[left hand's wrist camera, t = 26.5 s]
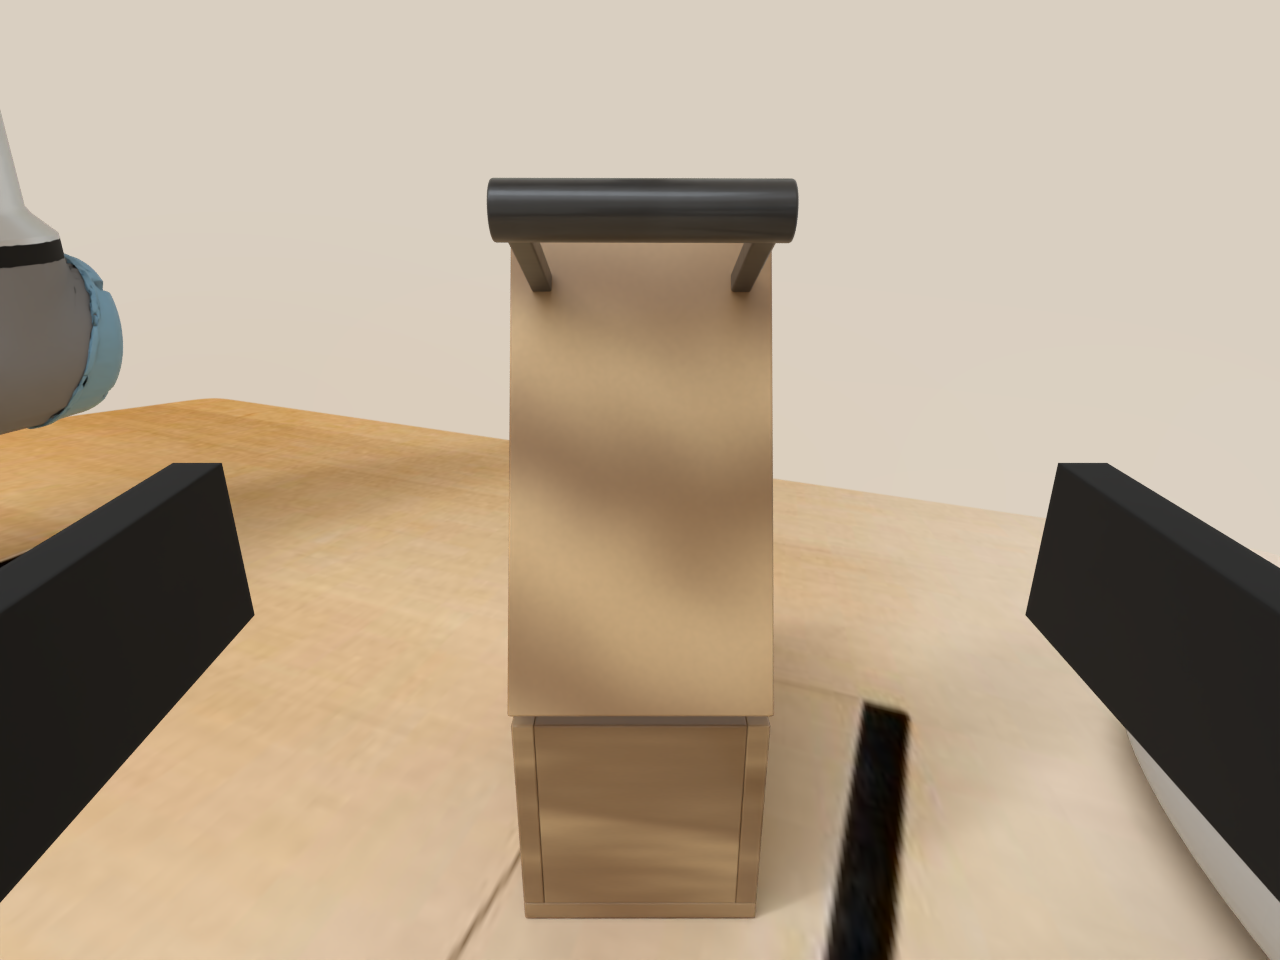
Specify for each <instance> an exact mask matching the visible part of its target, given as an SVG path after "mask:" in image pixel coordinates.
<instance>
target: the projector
mask: <svg viewBox="0 0 1280 960" xmlns="http://www.w3.org/2000/svg"><path fill="white" fill-rule="evenodd" d="M1126 731H1127V735H1128V738H1129V740H1130V743H1131V745H1132V748H1133V751H1134V753H1135V756H1136V758H1137V760H1138V762H1139V764H1140V766H1141V768H1142V770H1143V772H1144V775H1145V777H1146V779H1147V780H1148V782H1149V784H1150V786H1151V788H1152V790H1153V792H1154V793H1155V795H1156V797H1157V799H1158V801H1159V803H1160V804H1161V806H1162V808H1163V810H1164V811H1165V813H1166V815H1167V816H1168V818H1169V820H1170V821H1171V823H1172V825H1173V826H1174V828H1175V829H1176V831H1177V832H1178V834H1179V835H1180V837H1181V839H1182V840H1183V842H1184V843H1185V845H1186V846H1187V848H1188V849H1189V851H1190V853H1191V854H1192V856H1193V857H1194V859H1195V860H1196V861H1197V863H1198V864H1199V866H1200V867H1201V869H1202V870H1203V871H1204V873H1205V874H1206V876H1207V877H1208V879H1209V880H1210V881H1211V883H1212V884H1213V886H1214V887H1215V888H1216V890H1217V891H1218V893H1219V894H1220V895H1221V897H1222V898H1223V899H1224V901H1225V902H1226V903H1227V905H1228V906H1229V907H1230V909H1231V910H1232V911H1233V913H1234V914H1235V915H1236V917H1237V918H1238V919H1239V921H1240V922H1241V923H1242V925H1243V926H1244V927H1245V929H1246V930H1247V931H1248V933H1249V934H1250V935H1251V936H1252V938H1253V939H1254V940H1255V941H1256V943H1257V944H1258V945H1259V946H1260V948H1261V949H1262V950H1263V951H1264V953H1265V954H1266V955H1267V956H1268V958H1269V959H1270V960H1280V902H1279V901H1278V900H1277V899H1276V898H1275V897H1274V896H1273V894H1272V893H1271V892H1270V891H1269V890H1268V889H1267V888H1266V886H1265V885H1264V884H1263V883H1262V882H1261V881H1260V880H1259V879H1258V877H1257V876H1256V875H1255V874H1254V873H1253V872H1252V871H1251V870H1250V868H1249V867H1248V866H1247V865H1246V864H1245V863H1244V862H1243V860H1242V859H1241V858H1240V857H1239V856H1238V855H1237V854H1236V853H1235V851H1234V850H1233V849H1232V848H1231V847H1230V846H1229V845H1228V843H1227V842H1226V841H1225V840H1224V839H1223V838H1222V837H1221V836H1220V834H1219V833H1218V832H1217V831H1216V830H1215V829H1214V828H1213V827H1212V825H1211V824H1210V823H1209V822H1208V821H1207V820H1206V819H1205V817H1204V816H1203V815H1202V814H1201V813H1200V812H1199V811H1198V810H1197V808H1196V807H1195V806H1194V805H1193V804H1192V803H1191V802H1190V801H1189V799H1188V798H1187V797H1186V796H1185V795H1184V794H1183V793H1182V791H1181V790H1180V789H1179V788H1178V787H1177V786H1176V785H1175V784H1174V782H1173V781H1172V780H1171V779H1170V778H1169V777H1168V776H1167V774H1166V773H1165V772H1164V771H1163V770H1162V769H1161V768H1160V767H1159V765H1158V764H1157V763H1156V762H1155V761H1154V760H1153V759H1152V758H1151V756H1150V755H1149V754H1148V753H1147V752H1146V751H1145V750H1144V748H1143V747H1142V746H1141V745H1140V744H1139V743H1138V742H1137V741H1136V739H1135V738H1134V737H1133V736H1132V735H1131V734H1130V733H1129V732H1128V730H1127V729H1126Z"/></svg>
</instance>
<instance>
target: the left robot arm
mask: <svg viewBox="0 0 1280 960" xmlns="http://www.w3.org/2000/svg"><path fill="white" fill-rule="evenodd" d="M253 616H254V610H253V606H252V601H251V596H250V592H249V587H248V582H247V578H246V573H245V569H244V564H243V559H242V555H241V550H240V545H239V541H238V536H237V531H236V527H235V522H234V518H233V513H232V508H231V504H230V499H229V494H228V490H227V485H226V480H225V476H224V471H223V467H222V463H172V464H171V465H169V466H167V467H166V468H164V469H162V470H161V471H159V472H157V473H156V474H154V475H152V476H151V477H149V478H148V479H146V480H144V481H143V482H141V483H139V484H138V485H136V486H134V487H133V488H131V489H129V490H128V491H126V492H125V493H123V494H121V495H120V496H118V497H116V498H115V499H113V500H111V501H110V502H108V503H106V504H105V505H103V506H102V507H100V508H98V509H97V510H95V511H93V512H92V513H90V514H88V515H87V516H85V517H83V518H82V519H80V520H79V521H77V522H75V523H74V524H72V525H70V526H69V527H67V528H65V529H64V530H62V531H60V532H59V533H57V534H56V535H54V536H52V537H51V538H49V539H47V540H46V541H44V542H42V543H41V544H39V545H37V546H36V547H34V548H33V549H31V550H29V551H28V552H26V553H24V554H23V555H21V556H19V557H18V558H16V559H14V560H13V561H11V562H9V563H8V564H6V565H5V566H3V567H1V568H0V902H1V901H2V900H3V899H4V898H5V897H6V896H7V894H8V893H9V892H10V891H11V890H12V889H13V888H14V886H15V885H16V884H17V883H18V882H19V881H20V880H21V879H22V877H23V876H24V875H25V874H26V873H27V872H28V871H29V870H30V868H31V867H32V866H33V865H34V864H35V863H36V862H37V860H38V859H39V858H40V857H41V856H42V855H43V854H44V853H45V851H46V850H47V849H48V848H49V847H50V846H51V845H52V843H53V842H54V841H55V840H56V839H57V838H58V837H59V836H60V834H61V833H62V832H63V831H64V830H65V829H66V828H67V827H68V825H69V824H70V823H71V822H72V821H73V820H74V819H75V817H76V816H77V815H78V814H79V813H80V812H81V811H82V810H83V808H84V807H85V806H86V805H87V804H88V803H89V802H90V801H91V799H92V798H93V797H94V796H95V795H96V794H97V793H98V791H99V790H100V789H101V788H102V787H103V786H104V785H105V784H106V782H107V781H108V780H109V779H110V778H111V777H112V776H113V774H114V773H115V772H116V771H117V770H118V769H119V768H120V767H121V765H122V764H123V763H124V762H125V761H126V760H127V759H128V758H129V756H130V755H131V754H132V753H133V752H134V751H135V750H136V748H137V747H138V746H139V745H140V744H141V743H142V742H143V741H144V739H145V738H146V737H147V736H148V735H149V734H150V733H151V732H152V730H153V729H154V728H155V727H156V726H157V725H158V724H159V722H160V721H161V720H162V719H163V718H164V717H165V716H166V715H167V713H168V712H169V711H170V710H171V709H172V708H173V707H174V705H175V704H176V703H177V702H178V701H179V700H180V699H181V698H182V696H183V695H184V694H185V693H186V692H187V691H188V690H189V689H190V687H191V686H192V685H193V684H194V683H195V682H196V681H197V679H198V678H199V677H200V676H201V675H202V674H203V673H204V672H205V670H206V669H207V668H208V667H209V666H210V665H211V664H212V662H213V661H214V660H215V659H216V658H217V657H218V656H219V655H220V653H221V652H222V651H223V650H224V649H225V648H226V647H227V646H228V644H229V643H230V642H231V641H232V640H233V639H234V638H235V636H236V635H237V634H238V633H239V632H240V631H241V630H242V629H243V627H244V626H245V625H246V624H247V623H248V622H249V621H250V620H251V618H252V617H253ZM1026 616H1027V617H1028V618H1029V620H1030V621H1031V622H1032V623H1033V624H1034V625H1035V626H1036V627H1037V629H1038V630H1039V631H1040V632H1041V633H1042V634H1043V635H1044V636H1045V638H1046V639H1047V640H1048V641H1049V642H1050V643H1051V644H1052V646H1053V647H1054V648H1055V649H1056V650H1057V651H1058V652H1059V653H1060V655H1061V656H1062V657H1063V658H1064V659H1065V660H1066V661H1067V662H1068V664H1069V665H1070V666H1071V667H1072V668H1073V669H1074V670H1075V672H1076V673H1077V674H1078V675H1079V676H1080V677H1081V678H1082V679H1083V681H1084V682H1085V683H1086V684H1087V685H1088V686H1089V687H1090V689H1091V690H1092V691H1093V692H1094V693H1095V694H1096V695H1097V696H1098V698H1099V699H1100V700H1101V701H1102V702H1103V703H1104V704H1105V705H1106V707H1107V708H1108V709H1109V710H1110V711H1111V712H1112V713H1113V715H1114V716H1115V717H1116V718H1117V719H1118V720H1119V721H1120V722H1121V724H1122V725H1123V726H1124V727H1125V728H1126V729H1127V730H1128V732H1129V733H1130V734H1131V735H1132V736H1133V737H1134V738H1135V739H1136V741H1137V742H1138V743H1139V744H1140V745H1141V746H1142V747H1143V748H1144V750H1145V751H1146V752H1147V753H1148V754H1149V755H1150V756H1151V758H1152V759H1153V760H1154V761H1155V762H1156V763H1157V764H1158V765H1159V767H1160V768H1161V769H1162V770H1163V771H1164V772H1165V773H1166V774H1167V776H1168V777H1169V778H1170V779H1171V780H1172V781H1173V782H1174V784H1175V785H1176V786H1177V787H1178V788H1179V789H1180V790H1181V791H1182V793H1183V794H1184V795H1185V796H1186V797H1187V798H1188V799H1189V801H1190V802H1191V803H1192V804H1193V805H1194V806H1195V807H1196V808H1197V810H1198V811H1199V812H1200V813H1201V814H1202V815H1203V816H1204V817H1205V819H1206V820H1207V821H1208V822H1209V823H1210V824H1211V825H1212V827H1213V828H1214V829H1215V830H1216V831H1217V832H1218V833H1219V834H1220V836H1221V837H1222V838H1223V839H1224V840H1225V841H1226V842H1227V843H1228V845H1229V846H1230V847H1231V848H1232V849H1233V850H1234V851H1235V853H1236V854H1237V855H1238V856H1239V857H1240V858H1241V859H1242V860H1243V862H1244V863H1245V864H1246V865H1247V866H1248V867H1249V868H1250V870H1251V871H1252V872H1253V873H1254V874H1255V875H1256V876H1257V877H1258V879H1259V880H1260V881H1261V882H1262V883H1263V884H1264V885H1265V886H1266V888H1267V889H1268V890H1269V891H1270V892H1271V893H1272V894H1273V896H1274V897H1275V898H1276V899H1277V900H1278V901H1279V902H1280V568H1279V567H1277V566H1275V565H1274V564H1272V563H1271V562H1269V561H1267V560H1266V559H1264V558H1262V557H1261V556H1259V555H1257V554H1256V553H1254V552H1252V551H1251V550H1249V549H1247V548H1246V547H1244V546H1243V545H1241V544H1239V543H1238V542H1236V541H1234V540H1233V539H1231V538H1229V537H1228V536H1226V535H1224V534H1223V533H1221V532H1220V531H1218V530H1216V529H1215V528H1213V527H1211V526H1210V525H1208V524H1206V523H1205V522H1203V521H1201V520H1200V519H1198V518H1197V517H1195V516H1193V515H1192V514H1190V513H1188V512H1187V511H1185V510H1183V509H1182V508H1180V507H1178V506H1177V505H1175V504H1174V503H1172V502H1170V501H1169V500H1167V499H1165V498H1164V497H1162V496H1160V495H1159V494H1157V493H1155V492H1154V491H1152V490H1151V489H1149V488H1147V487H1146V486H1144V485H1142V484H1141V483H1139V482H1137V481H1136V480H1134V479H1132V478H1131V477H1129V476H1128V475H1126V474H1124V473H1123V472H1121V471H1119V470H1118V469H1116V468H1114V467H1113V466H1111V465H1109V464H1108V463H1058V467H1057V471H1056V476H1055V480H1054V485H1053V490H1052V494H1051V499H1050V504H1049V508H1048V513H1047V518H1046V522H1045V527H1044V531H1043V536H1042V541H1041V545H1040V550H1039V555H1038V559H1037V564H1036V569H1035V573H1034V578H1033V582H1032V587H1031V592H1030V596H1029V601H1028V606H1027V610H1026Z"/></svg>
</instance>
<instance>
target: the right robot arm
mask: <svg viewBox="0 0 1280 960" xmlns="http://www.w3.org/2000/svg"><path fill="white" fill-rule="evenodd" d="M102 288H103V281H102V279H101V278H100V277H99V275H98V274H97V273H96V272H95V271H94V270H93V269H92V268H91V267H90V266H89V265H87V264H86V263H84V262H83V261H81V260H79V259H77V258H75V257H72V256H69V255H67V254H64V253H63V249H62V245H61V241H60V236H59V233H58V232H57V231H56V230H54V229H53V228H51V227H50V226H49V225H47V224H46V223H44V222H43V221H42V220H40V219H39V218H37V217H36V216H35V215H33V214H32V213H31V212H30V211H29V210H28V209H27V208H26V207H25V206H24V202H23V198H22V194H21V190H20V186H19V182H18V178H17V174H16V170H15V167H14V162H13V159H12V155H11V151H10V147H9V143H8V139H7V135H6V131H5V127H4V123H3V119H2V115H1V112H0V435H1V434H5V433H9V432H13V431H17V430H21V429H25V428H28V429H34V428H40V427H43V426H46V425H49V424H52V423H54V422H55V421H57V420H59V419H61V418H65V417H68V416H71V415H74V414H77V413H81V412H84V411H87V410H89V409H91V408H93V407H95V406H96V405H98V404H99V403H100V402H101V401H103V400H104V399H105V397H106V395H107V394H108V391H109V390H110V389H111V388H112V387H113V386H114V385H115V383H116V380H117V378H118V375H119V372H120V368H121V363H122V356H123V337H122V329H121V323H120V319H119V315H118V312H117V309H116V306H115V303H114V301H113V298H112V296H111V294H110V293H109V292H107V291H103V289H102Z"/></svg>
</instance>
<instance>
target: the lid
mask: <svg viewBox="0 0 1280 960" xmlns="http://www.w3.org/2000/svg"><path fill="white" fill-rule="evenodd" d="M487 215H488V224H489V229H490V234H491V237H492V239H493V241H494V242H508V243H509V245H510V247H511V304H510V448H509V592H508V716H773V715H774V644H773V438H772V249H773V247H774V245H775V243H790V242H791V241H792V240H793V237H794V234H795V231H796V225H797V218H798V187H797V183H796V181H795V180H794V179H719V178H717V179H716V178H710V179H709V178H491V179H490V180H489V183H488V189H487Z"/></svg>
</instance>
